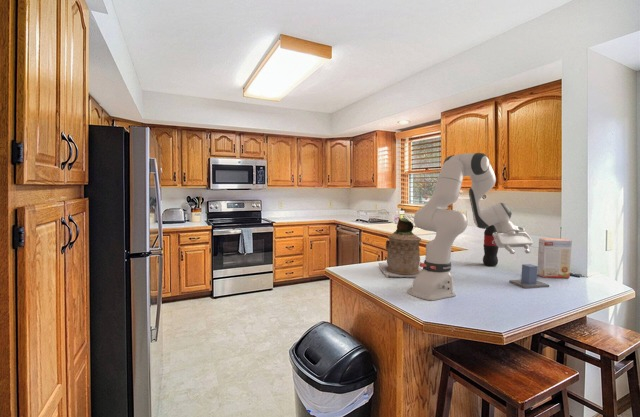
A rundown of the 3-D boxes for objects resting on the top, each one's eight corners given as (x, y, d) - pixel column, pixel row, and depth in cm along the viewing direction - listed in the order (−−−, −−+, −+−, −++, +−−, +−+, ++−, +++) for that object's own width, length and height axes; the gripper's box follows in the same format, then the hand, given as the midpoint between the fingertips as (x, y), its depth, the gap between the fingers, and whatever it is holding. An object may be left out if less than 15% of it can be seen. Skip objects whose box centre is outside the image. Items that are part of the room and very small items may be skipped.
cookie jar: (430, 279, 168) (432, 219, 166) (384, 278, 169) (386, 219, 166) (417, 266, 193) (419, 214, 190) (377, 266, 194) (378, 214, 191)
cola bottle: (500, 267, 193) (503, 218, 191) (486, 266, 194) (489, 218, 191) (493, 263, 202) (495, 217, 199) (480, 263, 202) (482, 216, 200)
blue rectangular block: (528, 284, 157) (529, 266, 157) (521, 281, 162) (522, 264, 161) (536, 283, 158) (537, 266, 158) (528, 280, 163) (529, 264, 162)
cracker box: (562, 275, 177) (565, 238, 175) (570, 278, 171) (572, 240, 169) (536, 274, 178) (538, 237, 176) (542, 277, 172) (545, 239, 171)
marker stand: (525, 288, 154) (526, 271, 153) (509, 282, 164) (510, 266, 163) (549, 286, 157) (550, 270, 156) (532, 280, 166) (533, 264, 166)
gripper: (494, 228, 169) (507, 250, 160) (526, 228, 173) (541, 249, 164) (487, 235, 174) (500, 257, 165) (519, 234, 178) (533, 255, 169)
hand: (520, 253), depth 165 cm, fingers open, 8 cm apart
